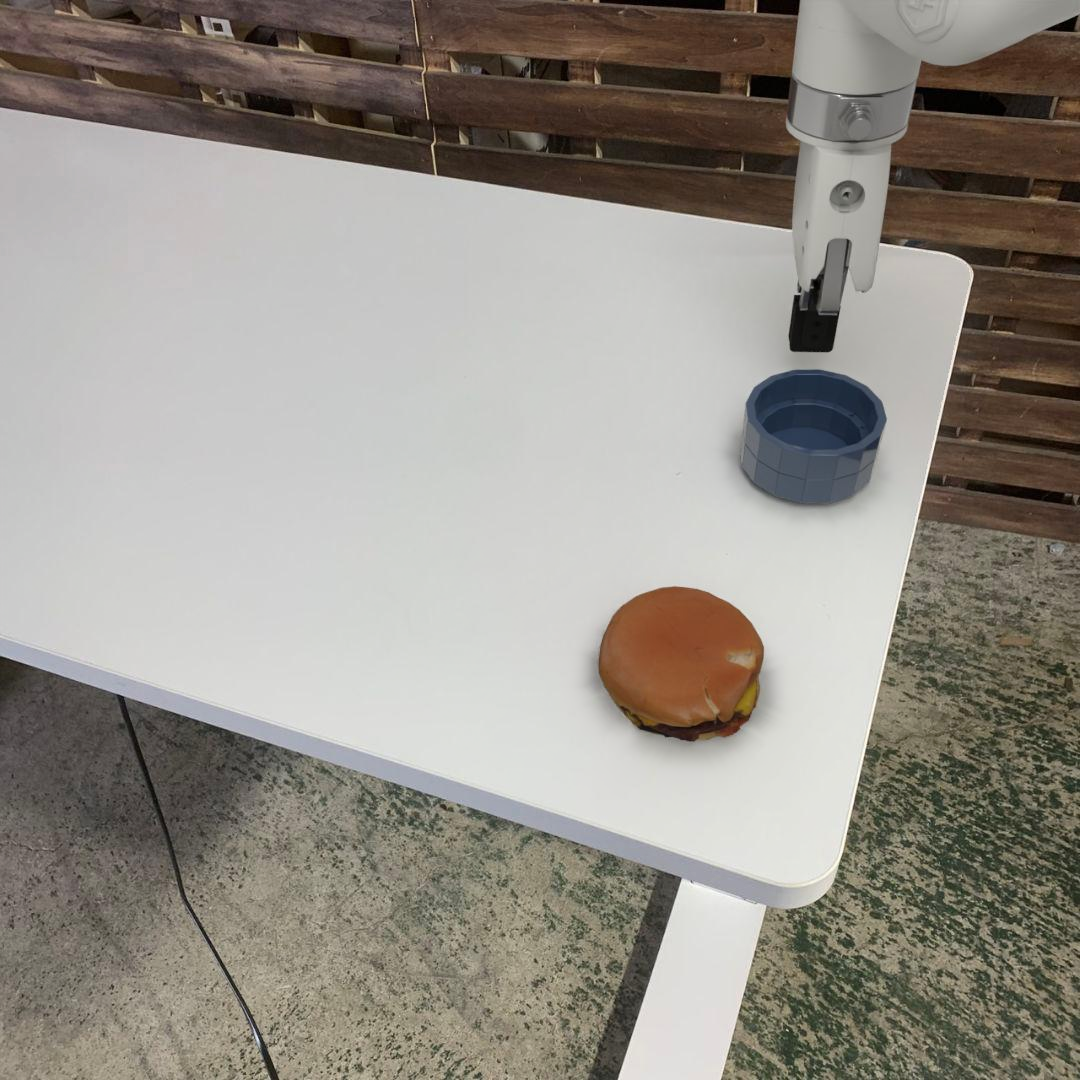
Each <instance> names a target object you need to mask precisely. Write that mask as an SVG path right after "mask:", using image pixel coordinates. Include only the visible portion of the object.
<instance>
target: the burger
mask: <svg viewBox="0 0 1080 1080" xmlns="http://www.w3.org/2000/svg"><path fill="white" fill-rule="evenodd" d="M610 618H611V619H610V621H609V623H608V625H607V626H606V628H605V630H604V633H603V635H602V638H601V641H600V646H599V654H598V663H597V664H598V667H597V668H598V675H599V678H600V680H601V682H602V685H603V686H604V688H605V690H606V691H607V693H608V695H609V697H610V699H611V700H612V702H613V703H614V704H615V706H616V707H617V708H618V709H619V711H620V712H621V713H622V714H623V715H624V716H625V717H626V718H627V719H628V720H629V721H630V722H631V723H632V724H633V725H634V726H635V727H636V728H637V729H638V730H639V731H643V732H647V733H650V734H654V735H659V736H663V737H664V738H675V739H677V740H680V741H686V742H690V743H695V742H696V741H698V740H699V741H708V740H711V739H713V738H715V737H719V738H723V739H724V738H728V737H731V736H733V735H735V734H737V733H738V732H739V731H740V730H741V727H742V726H743V725H744V724H746V723H747V722H749V720H750V718H751V716H752V714H753V711H754V710H755V708H757V703H758V701H759V698H760V692H761V684H760V677H759V675H760V674H761V671H762V666H763V663H764V657H765V646H764V643H763V640H762V638H761V636H760V635H759V633H758V631H757V630H756V628H755V626H754V624H753V622H752V621H751V620H750V619H748V617H747V616H746V615H745V614H744V613H743V612H742V611H741V610H740V609H739V608H738V607H736V606H735V605H733V604H732V603H731V602H729V601H727V600H725V599H723V598H721V597H718V596H716V595H715V594H712V593H711V592H709V591H706V590H702V589H698V588H693V587H686V586H677V585H674V586H663V587H658V588H655V589H652V590H649V591H646V592H643V593H640V594H638V595H636V596H634V597H632V598H631V599H630V600H628V601H627V602H625V603H624V604H622V605H621V606H620V607H619V608H618V609H617V610H616V611H615V613H614V614H613V615H612V616H611V617H610Z"/></svg>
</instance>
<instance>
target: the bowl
mask: <svg viewBox="0 0 1080 1080" xmlns="http://www.w3.org/2000/svg"><path fill="white" fill-rule="evenodd" d="M887 420H888V417H887V413H886V410H885V407H884V404H883V401H882V400H881V398H879V397H878V395H876V394H875V393H874V391H873V390H872V389H871V388H870V387H869V386H867V384H864V383H862V382H860V381H858V380H856V379H854V378H852V377H850V376H849V375H845V374H842V373H839V372H834V371H829V370H825V369H819V368H818V369H817V368H816V369H814V368H813V369H792V370H788V371H784V372H780V373H776V374H773V375H770V376H768V377H767V378H766V379H764V380H763V381H761V382H760V383H758V384H757V385H755V386H754V387H753V388H752V390H751V392H750V393H749V396H748V397H747V399H746V402H745V407H744V415H743V423H742V432H741V438H740V446H739V447H740V449H739V452H740V460H741V461H740V462H741V467H742V468H743V470H744V471H745V473H746V474H747V475H748V477H749V478H750V479H751V481H752V483H754V484H755V485H757V486H758V487H760V488H762V489H763V490H765V491H766V492H768V493H769V494H771V495H773V496H775V497H777V498H781V499H784V500H786V501H787V500H788V501H790V502H795V503H799V504H831V503H835V502H838V501H840V500H844V499H847V498H852V496H854V495H856V494H857V493H858V492H859V491H861V490H862V489H863V488H864V487H866V486H867V485H868V484H869V483H870V481H871V478H872V475H873V473H874V470H875V469H876V464H877V461H878V456H879V451H880V449H881V444H882V440H883V437H884V432H885V429H886V424H887Z"/></svg>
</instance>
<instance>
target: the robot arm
mask: <svg viewBox="0 0 1080 1080" xmlns="http://www.w3.org/2000/svg"><path fill="white" fill-rule="evenodd" d="M1079 15H1080V0H799V8H798V16H797V22H796V23H797V25H796V33H795V42H794V51H793V60H792V67H791V68H792V69H791V73H790V74H791V75H790V83H789V90H788V100H787V107H786V108H787V109H786V118H785V128H786V130H787V131H788V133H789V134H790V135H792V136H793V138H796V139H797V140H798V141H800V145H799V152H798V157H797V158H798V159H797V166H796V172H795V174H796V175H795V181H794V190H793V192H794V193H793V200H792V201H793V202H792V219H791V220H792V221H791V230H792V231H791V232H792V243H793V253H794V260H795V267H796V268H795V269H796V274H797V282H796V283H797V284H796V292H797V294H793V301H792V307H791V314H790V322H789V330H788V335H787V336H788V345H789V350H790V351H791V352H792V353H830V352H832V351H833V350H834V345H835V341H836V335H837V330H838V324H839V318H840V313H841V308H842V306H841V304H842V301H843V296H844V291H845V285H846V282H847V277H848V272H849V273H850V277H851V281H852V284H853V288H854V291H855V292H861V293H867V292H869V291H870V290H871V289H872V287H873V285H874V281H875V274H876V270H877V269H876V268H877V261H878V255H879V249H880V244H881V237H882V231H883V224H884V217H885V211H886V205H887V197H888V190H889V189H888V188H889V180H890V171H891V158H892V144H894V143H896V142H898V141H899V140H901V139H902V138H903V137H905V135H906V133H907V132H908V126H909V122H910V118H911V114H912V108H913V103H914V99H915V94H916V89H917V85H918V80H919V74H920V70H921V64H922V62H924V63H928V64H930V65H935V66H941V67H956V66H957V67H958V66H963V65H967V64H970V63H974V62H976V61H980V60H982V59H984V58H986V57H989V56H991V55H993V54H995V53H998V52H999V51H1002V50H1004V49H1006V48H1009V47H1011V46H1013V45H1015V44H1017V43H1020V42H1022V41H1023V40H1025V39H1026V38H1029V37H1031V36H1033V35H1034V34H1038V33H1040V32H1042V31H1045V30H1047V29H1049V28H1051V27H1054V26H1055V25H1059V24H1060V23H1063V22H1065V21H1068V20H1070V19H1072V18H1074V17H1076V16H1079Z"/></svg>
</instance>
